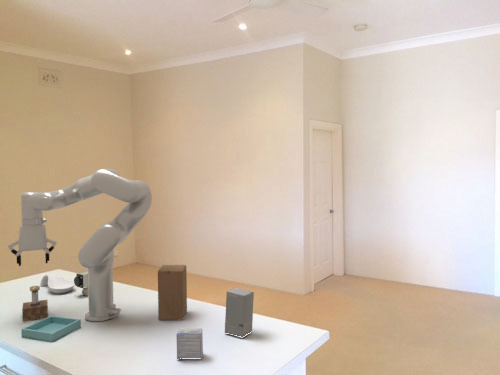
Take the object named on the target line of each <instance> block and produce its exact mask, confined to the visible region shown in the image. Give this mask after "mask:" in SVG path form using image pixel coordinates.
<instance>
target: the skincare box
mask: <svg viewBox="0 0 500 375" xmlns="http://www.w3.org/2000/svg"><path fill="white" fill-rule="evenodd" d="M254 293H255V292H254V291H251V290H247V289H243V288H240V287H239V288H238V287H235V288H232V289H229V290H227V291H226V298H225V319H224V320H225V321H224V334H225V333H229V334H233V335H237V336H241V337H243V336H245V335H246V334H248V333H250V332H251V331H252V332H253V322H254V321H253V319H254V316H253V314H254V298H255V294H254Z"/></svg>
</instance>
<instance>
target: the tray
mask: <svg viewBox="0 0 500 375" xmlns="http://www.w3.org/2000/svg"><path fill="white" fill-rule="evenodd" d="M81 322H82V319H80V318H71V317H65V316H56V315H48V317H47V318H45V319H39V321H36V322H34V323H32V324H29V325H28V326H25V327H23V328H21V331H20V332H21V334H20V335H21V338H23V339H31V340H37V341H43V342H50V343H54V342H56V341H58V340H60V339H62V338H64V337H65V336H67V335H69V334H71V333H73V332H74V331H77V330H78V329H81V327H82V323H81Z"/></svg>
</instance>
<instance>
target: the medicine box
mask: <svg viewBox="0 0 500 375" xmlns="http://www.w3.org/2000/svg"><path fill="white" fill-rule="evenodd" d="M175 335H176V360H177V359H180V358H181V359H182V358H202V359H203V355H202V354H204V348H203V346H204V345H203V344H204V343H203V342H204V341H203V328H202V327H199V328H197V327H196V328H195V327H193V328H191V327H190V328H189V327H188V328H178V330H177V333H176V334H175Z"/></svg>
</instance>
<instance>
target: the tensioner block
mask: <svg viewBox="0 0 500 375" xmlns="http://www.w3.org/2000/svg"><path fill="white" fill-rule="evenodd" d="M38 302H39V305H35V306H32V301H26V302H23V303H22V307H21V308H22V309H21V310H22V313H21V314H22V323H25V322H29V321H32V322H33V321H37V320H43V319H45V318H47V317H49V309H48V306H49V304H48V302H49V301H48V299H42V300H38Z"/></svg>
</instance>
